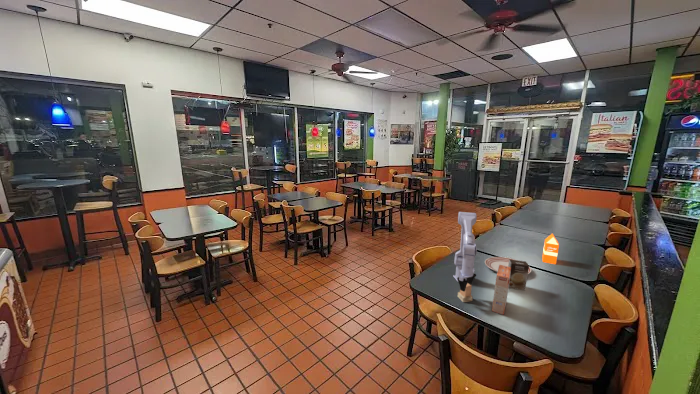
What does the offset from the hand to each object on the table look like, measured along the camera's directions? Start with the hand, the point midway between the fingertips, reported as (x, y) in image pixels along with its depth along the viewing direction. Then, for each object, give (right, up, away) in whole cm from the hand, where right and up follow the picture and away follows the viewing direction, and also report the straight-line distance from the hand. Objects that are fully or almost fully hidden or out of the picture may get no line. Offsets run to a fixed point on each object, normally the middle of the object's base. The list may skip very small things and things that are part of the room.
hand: (465, 288), depth 147 cm
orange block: (0, -4, +1) cm, 4 cm away
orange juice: (+81, +4, +47) cm, 93 cm away
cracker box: (+15, -8, -6) cm, 18 cm away
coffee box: (+35, -4, +13) cm, 38 cm away
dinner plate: (+43, +1, +35) cm, 56 cm away
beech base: (0, -7, +1) cm, 7 cm away
